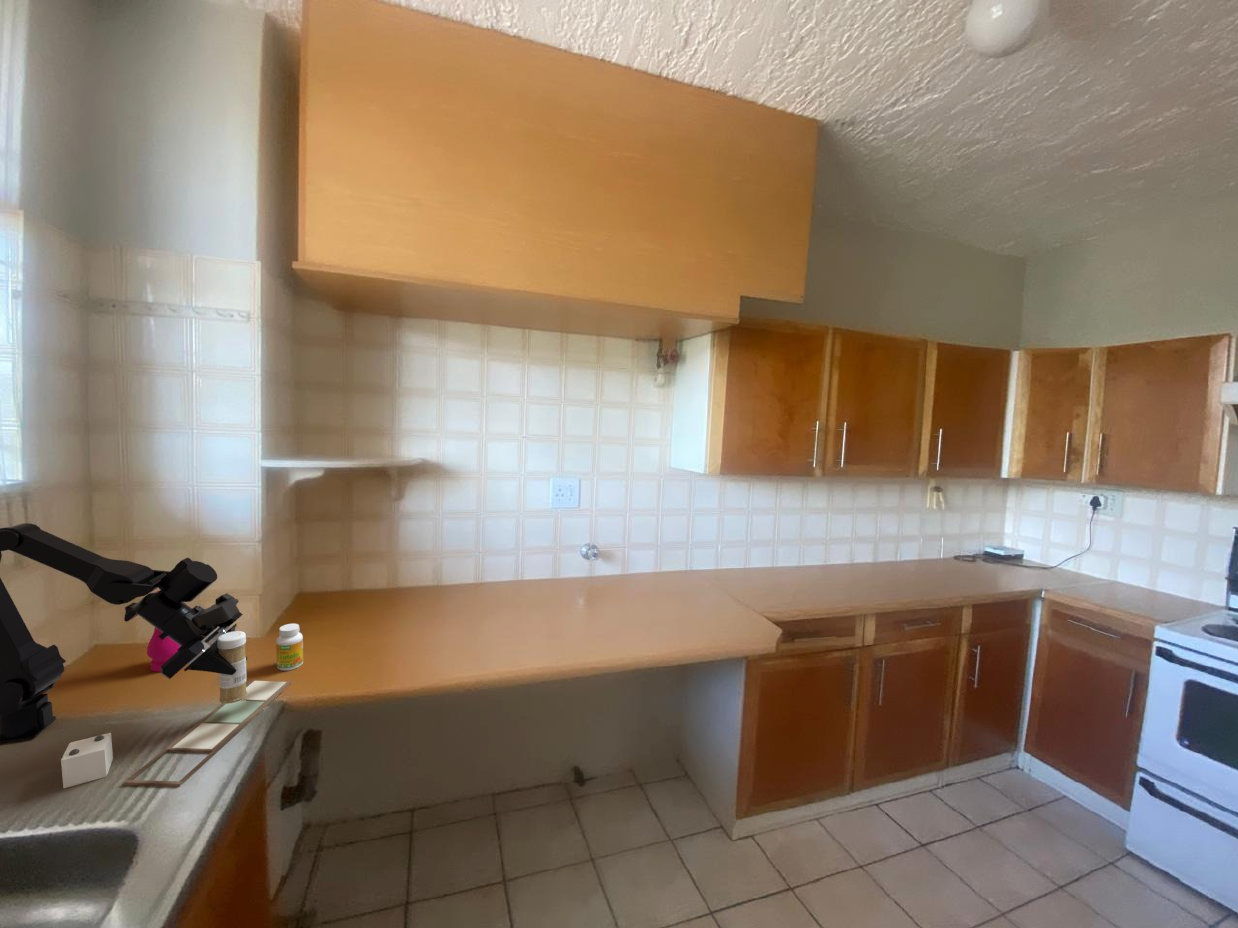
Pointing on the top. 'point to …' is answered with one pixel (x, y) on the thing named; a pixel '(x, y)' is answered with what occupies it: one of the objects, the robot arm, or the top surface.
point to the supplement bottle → (289, 647)
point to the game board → (217, 728)
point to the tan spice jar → (234, 653)
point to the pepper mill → (160, 649)
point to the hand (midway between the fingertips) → (240, 666)
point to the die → (87, 760)
